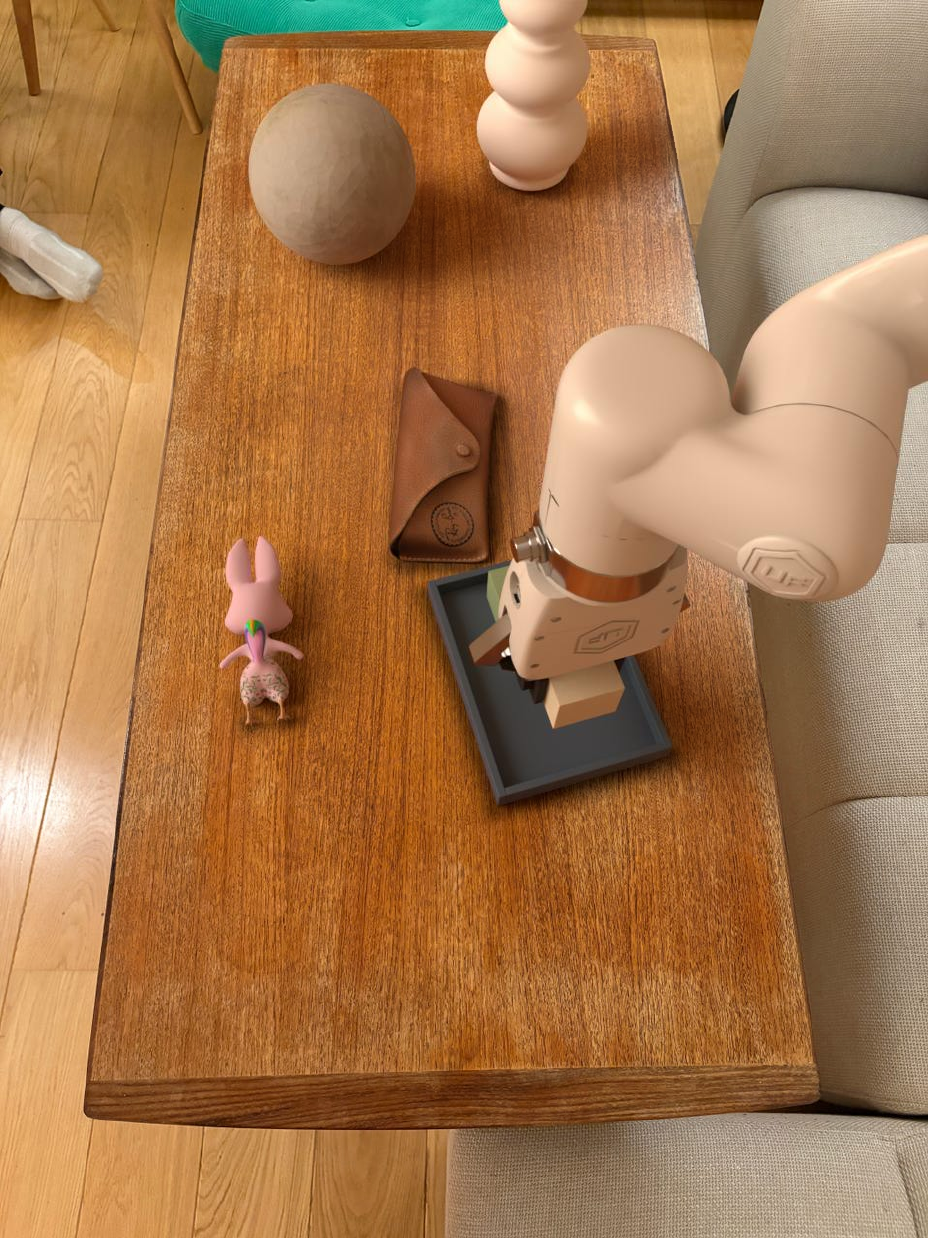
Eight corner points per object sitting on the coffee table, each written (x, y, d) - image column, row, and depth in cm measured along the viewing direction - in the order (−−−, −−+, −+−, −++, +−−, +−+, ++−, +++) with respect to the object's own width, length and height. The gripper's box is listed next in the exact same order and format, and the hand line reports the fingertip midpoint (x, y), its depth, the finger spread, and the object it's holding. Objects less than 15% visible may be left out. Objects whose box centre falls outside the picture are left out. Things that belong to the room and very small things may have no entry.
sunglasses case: (495, 561, 81) (453, 521, 76) (421, 581, 84) (376, 543, 79) (498, 387, 89) (461, 340, 84) (431, 411, 93) (391, 367, 87)
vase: (594, 196, 102) (636, -68, 79) (489, 212, 100) (502, -51, 78) (565, 126, 106) (596, -141, 84) (464, 140, 105) (469, -127, 83)
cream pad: (580, 623, 71) (587, 596, 68) (615, 711, 68) (625, 688, 65) (520, 639, 71) (524, 612, 67) (553, 729, 68) (559, 706, 64)
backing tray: (583, 553, 82) (586, 540, 80) (667, 756, 74) (673, 747, 73) (428, 593, 80) (427, 581, 79) (497, 806, 72) (498, 797, 71)
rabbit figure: (312, 721, 77) (293, 540, 81) (304, 704, 71) (284, 510, 75) (229, 733, 76) (215, 550, 81) (214, 715, 70) (199, 520, 75)
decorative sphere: (267, 190, 101) (239, 46, 88) (416, 187, 102) (411, 44, 88) (259, 300, 94) (228, 162, 81) (419, 298, 95) (414, 160, 82)
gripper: (474, 633, 50) (465, 757, 66) (783, 552, 53) (702, 690, 69) (432, 512, 53) (434, 658, 70) (725, 441, 56) (660, 597, 72)
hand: (567, 673), depth 69 cm, fingers closed on cream pad, 4 cm apart
